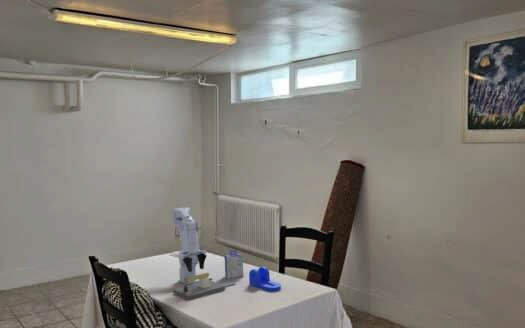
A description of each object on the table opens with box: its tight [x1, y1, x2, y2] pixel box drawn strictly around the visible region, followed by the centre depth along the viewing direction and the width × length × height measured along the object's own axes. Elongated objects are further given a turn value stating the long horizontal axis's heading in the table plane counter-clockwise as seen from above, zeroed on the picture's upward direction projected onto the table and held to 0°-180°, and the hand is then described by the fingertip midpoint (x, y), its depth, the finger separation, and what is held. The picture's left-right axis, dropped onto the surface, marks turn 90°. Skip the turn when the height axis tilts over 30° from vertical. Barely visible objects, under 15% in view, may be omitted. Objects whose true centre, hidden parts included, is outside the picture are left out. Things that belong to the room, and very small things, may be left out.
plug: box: [198, 277, 213, 289], centre depth 246 cm, size 5×7×6 cm
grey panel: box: [173, 280, 226, 301], centre depth 243 cm, size 14×22×2 cm, turn 130°
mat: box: [214, 279, 236, 288], centre depth 254 cm, size 9×9×1 cm
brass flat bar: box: [183, 272, 210, 291], centre depth 242 cm, size 2×14×6 cm, turn 131°
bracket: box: [248, 266, 282, 292], centre depth 249 cm, size 18×8×9 cm, turn 42°
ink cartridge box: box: [223, 249, 244, 279], centre depth 268 cm, size 10×6×14 cm, turn 112°
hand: (196, 270), depth 244 cm, fingers open, 7 cm apart
